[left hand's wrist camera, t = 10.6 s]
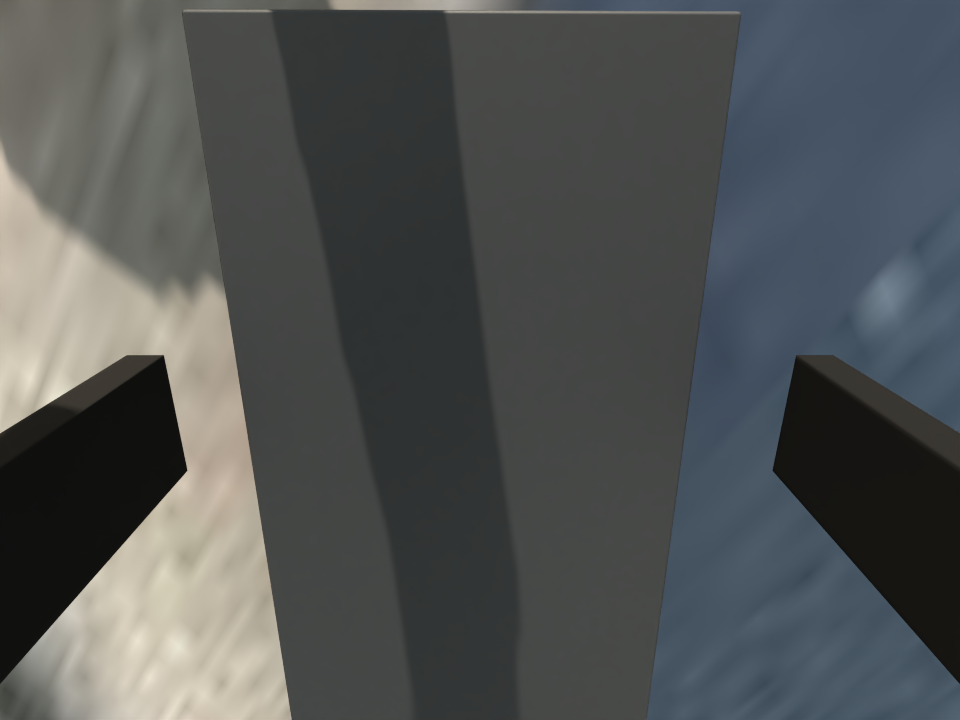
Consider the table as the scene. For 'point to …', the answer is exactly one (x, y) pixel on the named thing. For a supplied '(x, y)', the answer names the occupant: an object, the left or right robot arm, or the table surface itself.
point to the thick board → (464, 338)
